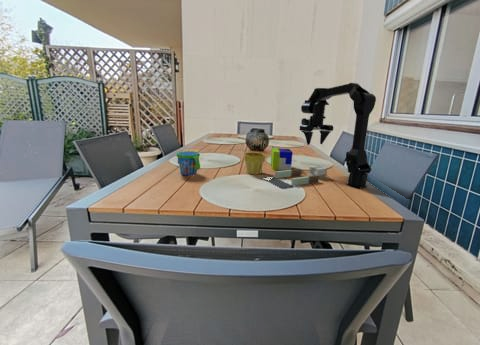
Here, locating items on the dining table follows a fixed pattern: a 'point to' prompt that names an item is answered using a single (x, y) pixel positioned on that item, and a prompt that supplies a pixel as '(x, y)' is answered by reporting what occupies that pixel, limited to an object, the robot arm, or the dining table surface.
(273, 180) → the trap pit mat
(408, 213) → the dining table surface
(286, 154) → the puzzle toy
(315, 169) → the grey block
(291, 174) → the lane rails
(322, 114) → the robot arm
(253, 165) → the plant pot
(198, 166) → the snack cup
